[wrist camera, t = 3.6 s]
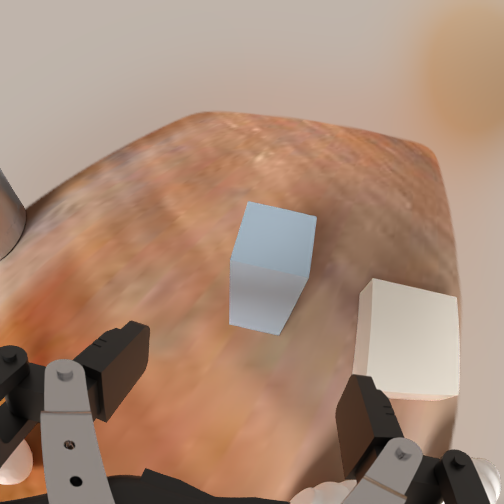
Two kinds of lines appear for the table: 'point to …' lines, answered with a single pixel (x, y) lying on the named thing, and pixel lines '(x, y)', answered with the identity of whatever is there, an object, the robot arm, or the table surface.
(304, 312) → the table surface
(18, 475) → the egg
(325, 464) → the table surface
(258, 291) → the pillar
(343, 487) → the headphones
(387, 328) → the base
